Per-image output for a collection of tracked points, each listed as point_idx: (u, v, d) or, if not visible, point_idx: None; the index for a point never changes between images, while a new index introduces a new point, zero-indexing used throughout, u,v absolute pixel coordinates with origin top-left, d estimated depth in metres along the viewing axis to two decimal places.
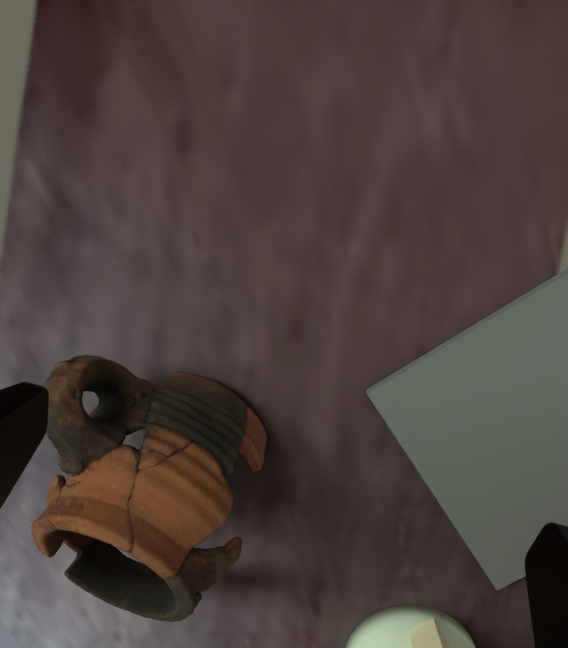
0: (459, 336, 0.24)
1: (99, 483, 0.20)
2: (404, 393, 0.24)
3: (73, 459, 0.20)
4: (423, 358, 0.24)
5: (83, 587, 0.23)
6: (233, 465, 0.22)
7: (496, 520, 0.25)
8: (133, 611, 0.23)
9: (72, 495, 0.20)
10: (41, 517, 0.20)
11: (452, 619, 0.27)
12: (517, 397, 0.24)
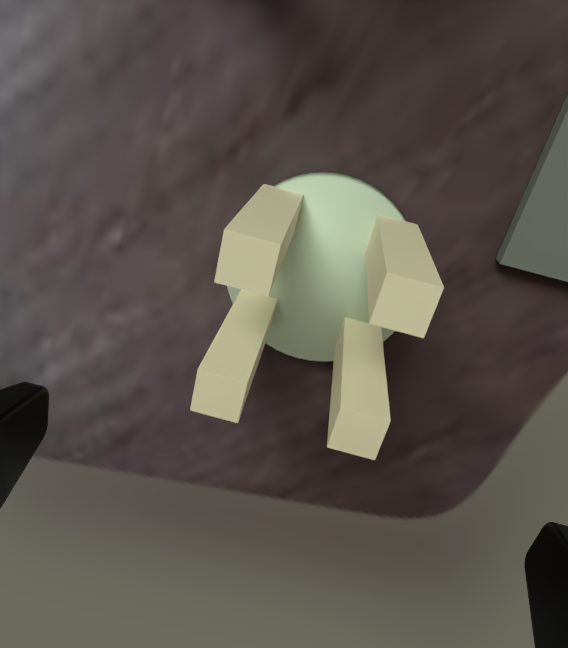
0: None
1: None
2: None
3: None
4: None
5: None
6: None
7: None
8: None
9: None
10: None
11: None
12: None
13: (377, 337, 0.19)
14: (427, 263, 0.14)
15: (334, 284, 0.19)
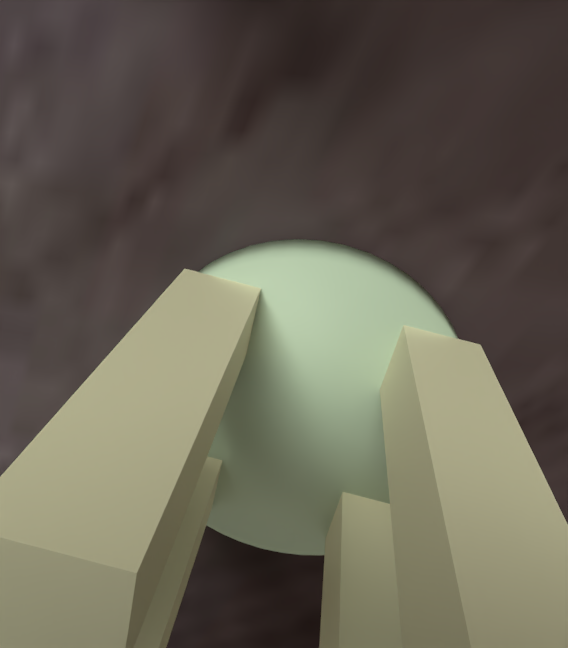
0: None
1: None
2: None
3: None
4: None
5: None
6: None
7: None
8: None
9: None
10: None
11: None
12: None
13: None
14: (555, 532, 0.05)
15: (323, 439, 0.11)
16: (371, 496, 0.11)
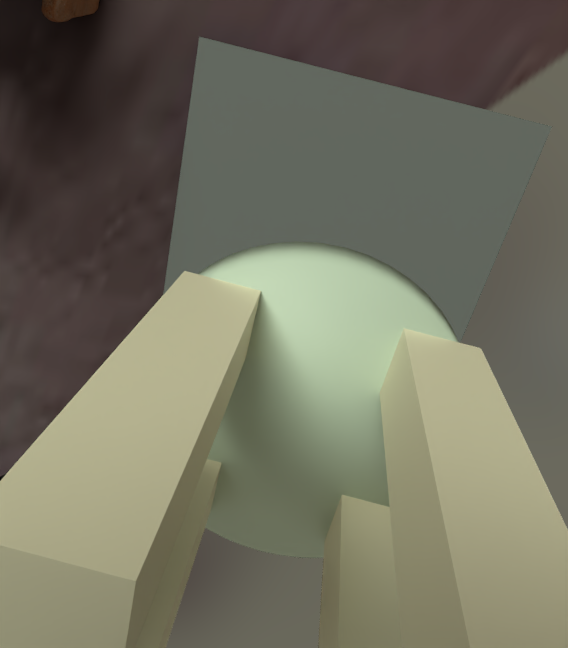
0: (343, 73, 0.18)
1: None
2: (237, 76, 0.18)
3: None
4: None
5: None
6: None
7: None
8: None
9: None
10: None
11: None
12: (334, 191, 0.19)
13: None
14: (555, 538, 0.05)
15: (324, 442, 0.11)
16: (370, 499, 0.11)
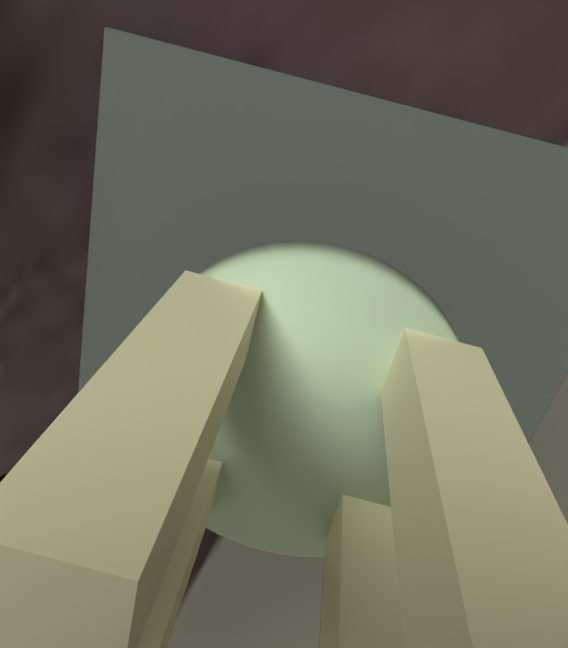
0: (335, 87, 0.11)
1: None
2: (167, 91, 0.11)
3: None
4: (249, 64, 0.11)
5: None
6: None
7: None
8: None
9: None
10: None
11: None
12: None
13: None
14: (559, 539, 0.05)
15: (324, 442, 0.11)
16: (371, 499, 0.11)
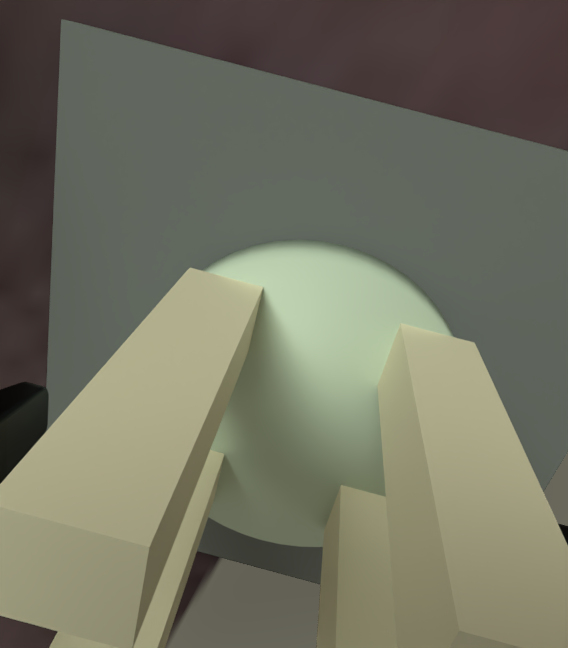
0: None
1: None
2: (135, 93, 0.10)
3: None
4: (229, 62, 0.09)
5: None
6: None
7: None
8: None
9: None
10: None
11: None
12: None
13: None
14: (539, 517, 0.06)
15: (323, 434, 0.11)
16: (368, 489, 0.11)
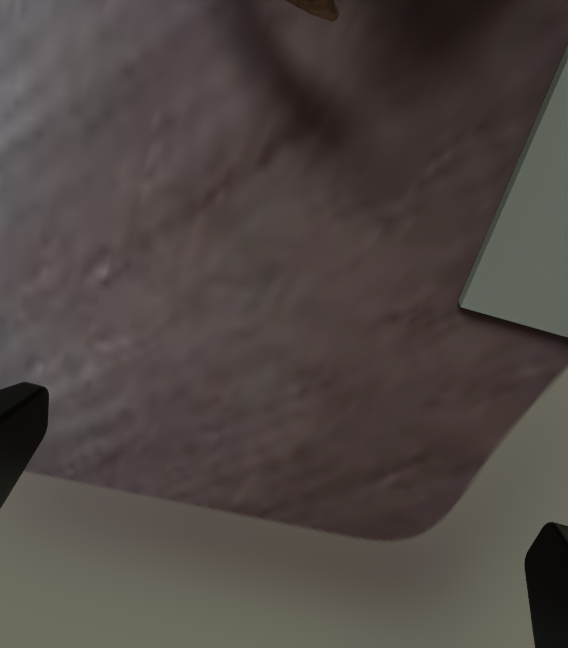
0: None
1: None
2: None
3: None
4: None
5: None
6: None
7: (549, 236, 0.18)
8: None
9: None
10: None
11: None
12: None
13: None
14: None
15: None
16: None
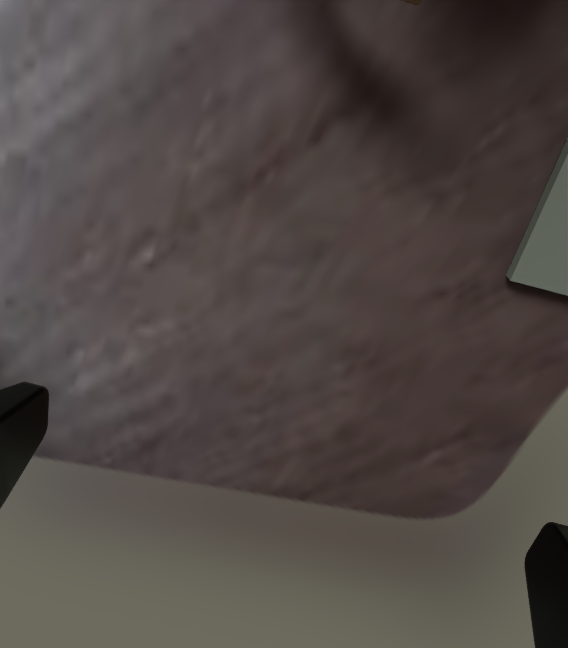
0: None
1: None
2: None
3: None
4: None
5: None
6: None
7: None
8: None
9: None
10: None
11: None
12: None
13: None
14: None
15: None
16: None
